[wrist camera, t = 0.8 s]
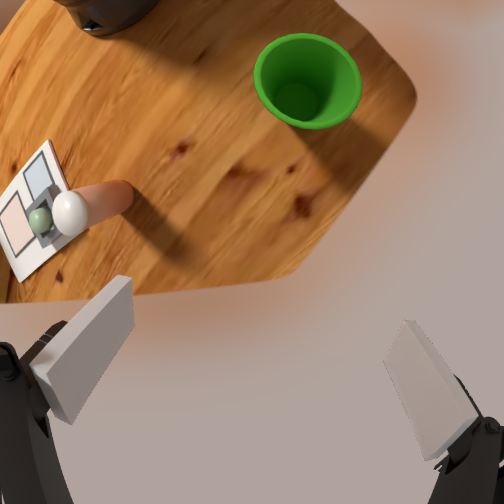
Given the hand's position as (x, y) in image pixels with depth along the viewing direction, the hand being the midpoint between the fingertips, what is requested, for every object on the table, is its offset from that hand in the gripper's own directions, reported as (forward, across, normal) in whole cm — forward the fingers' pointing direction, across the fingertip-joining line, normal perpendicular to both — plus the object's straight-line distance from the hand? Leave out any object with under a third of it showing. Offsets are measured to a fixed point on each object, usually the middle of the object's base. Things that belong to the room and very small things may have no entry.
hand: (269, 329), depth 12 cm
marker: (+23, -20, 0) cm, 30 cm away
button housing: (+23, -32, -4) cm, 40 cm away
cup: (+23, +1, +14) cm, 27 cm away
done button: (+21, -32, -4) cm, 39 cm away
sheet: (+23, -40, -6) cm, 46 cm away
